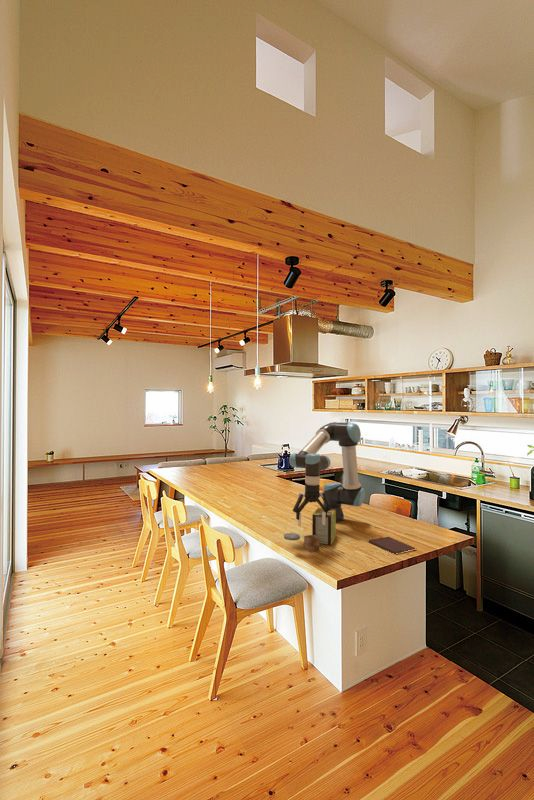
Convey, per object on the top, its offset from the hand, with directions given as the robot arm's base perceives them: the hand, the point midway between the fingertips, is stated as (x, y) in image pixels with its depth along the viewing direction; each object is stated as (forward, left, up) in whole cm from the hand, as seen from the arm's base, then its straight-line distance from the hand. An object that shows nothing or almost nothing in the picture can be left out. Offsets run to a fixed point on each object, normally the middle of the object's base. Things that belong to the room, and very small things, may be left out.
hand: (311, 525), depth 204 cm
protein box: (-12, -11, -12) cm, 21 cm away
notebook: (-43, +7, -13) cm, 46 cm away
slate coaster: (+4, -19, -12) cm, 23 cm away
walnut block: (0, 0, -12) cm, 12 cm away
